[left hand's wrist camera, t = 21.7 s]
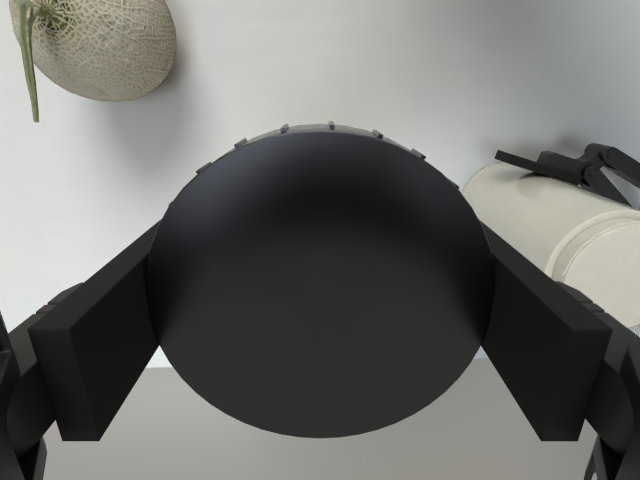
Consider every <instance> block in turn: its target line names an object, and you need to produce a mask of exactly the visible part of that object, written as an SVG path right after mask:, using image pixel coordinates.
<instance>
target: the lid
mask: <svg viewBox="0 0 640 480" xmlns="http://www.w3.org/2000/svg"><path fill="white" fill-rule="evenodd" d="M234 146H235V148H233V149H232V150H230V151H229V152H227V153H226V154H224V155H223V156H221V157H220V158H219V159H217V160H216V161H214V162H213V163H211V162H209V163H207V164H206V165H204V166H203V167H201V168H200V169H198V170H197V171H196V173H197V175H196V176H195V177H194V178H193V179H192V180H191V181H190V182H189V183H188V184H187V185H186V186H185V187H184V188H183V189H182V190H181V191H180V193H179V194H178V195H177V197H176V198H175V199H174V201H172V202H171V203H170V204H169V207H168V209H167V211H166V213H165V214H164V216H163V218H162V220H161V222H160V223H159V225H158V228H157V230H156V233H155V236H154V239H153V241H152V244H151V247H150V252H149V257H148V262H147V267H146V287H145V288H146V297H147V303H148V309H149V314H150V319H151V324H152V328H153V330H154V332H155V335H156V337H157V340H158V342H159V345H160V347H161V348H162V350H163V352H164V354H165V355H166V357H167V359H168V360H169V362H170V364H171V365H172V366H173V367H174V369H175V370H176V371H177V373H178V374H179V375H180V377H181V378H182V379H183V380H184V381H185V382H186V383H187V384H188V385H189V386H190V387H191V388H192V389H193V390H194V391H195V392H196V393H197V394H199V395H200V396H201V397H202V398H203V399H205V400H206V401H207V402H208V403H210V404H211V405H213V406H214V407H216V408H217V409H219V410H221V411H222V412H224V413H225V414H227V415H229V416H231V417H233V418H235V419H237V420H239V421H241V422H243V423H246V424H249V425H251V426H254V427H257V428H259V429H262V430H266V431H270V432H274V433H278V434H282V435H289V436H295V437H306V438H335V437H345V436H352V435H359V434H363V433H366V432H371V431H375V430H378V429H381V428H384V427H386V426H389V425H392V424H395V423H397V422H399V421H401V420H403V419H405V418H407V417H409V416H412V415H413V414H415V413H417V412H418V411H420V410H421V409H423V408H424V407H426V406H428V405H429V404H431V403H432V402H433V401H434V400H436V399H437V398H438V397H440V396H441V395H442V394H443V393H444V392H446V391H447V390H448V389H449V388H450V387H451V386H452V385H453V384H454V382H455V381H456V380H458V378H459V377H460V376H461V375H462V373H463V372H464V371H465V369H466V368H467V367H468V366H469V364H470V363H471V361H472V359H473V358H474V356H475V354H476V353H477V351H478V349H479V348H480V346H481V343H482V341H483V338H484V336H485V334H486V331H487V329H488V325H489V321H490V316H491V311H492V305H493V299H494V293H495V278H494V265H493V260H492V255H491V250H490V246H489V243H488V240H487V237H486V235H485V232H484V229H483V227H482V225H481V223H480V221H479V219H478V217H477V216H476V214H475V212H474V210H473V208H472V207H471V205H470V204H469V203H468V201H467V200H466V199H465V197H464V196H463V195H462V194H461V192H460V191H459V190H458V189H459V187H458V185H456V184H455V183H454V182H452V181H451V180H449V179H448V178H446V177H445V176H444V175H443V174H442V173H441V172H440V171H438V170H437V169H436V168H434V167H433V166H432V165H430V164H429V163H427V162H426V161H425V160H424V159H425V158H426V156H424V155H423V154H421V153H419V152H418V151H416V150H415V149H412V150H411V151H410V150H409V149H407V148H405V147H404V146H402V145H400V144H398V143H396V142H394V141H392V140H390V139H388V138H386V137H383V135H382V134H381V133H380V132H378V131H377V130H373V132H369V131H366V130H362V129H357V128H352V127H348V126H341V125H334V122H333V121H329V125H327V124H314V125H298V126H293V127H289V126H288V124H285V125H283V126H282V127H281V128H280V129H278V130H274V131H271V132H268V133H266V134H263V135H260V136H257V137H254V138H252V139H250V140H248V141H247V139H246V138H245V139H243V140H241V141H239V142H238V143H236V144H235V145H234Z"/></svg>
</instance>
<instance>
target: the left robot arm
mask: <svg viewBox="0 0 640 480" xmlns="http://www.w3.org/2000/svg"><path fill="white" fill-rule="evenodd" d="M161 220H162V219H161ZM161 220H160V221H159V222H157V223H156V224H155V225H154V226H152V227H151V228H150V229H149V230H148V231H146V232H145V233H144V234H143V235H142V236H140V237H139V238H138V239H137V240H135V241H134V242H133V243H132V244H131V245H129V246H128V247H127V248H126V249H124V250H123V251H122V252H121V253H120V254H118V255H117V256H116V257H115V258H114V259H112V260H111V261H110V262H109V263H107V264H106V265H105V266H104V267H103V268H101V269H100V270H99V271H98V272H96V273H95V274H94V275H93V276H92V277H90V278H89V279H88V280H87V281H85V282H84V283H79V284H77V285H75V286H73V287H71V288H69V289H67V290H64V291H62V292H61V293H59V294H58V295H57V296H56V297H54V298H53V299H52V300H51V301H49V302H48V305H44V306H43V307H42V308H40V309H39V310H38V311H37V312H36V314H33V315H31V316H30V317H29V318H28V319H26V320H25V321H24V322H23V323H21V324H20V325H19V326H17V327H16V328H15V329H14V330H12V331H11V332H10V333H9V334H8V332H7V330H6V327H5V324H4V321H3V318H2V315H1V312H0V480H43V475H44V469H45V462H46V456H47V450H46V444H45V441H44V438H43V435H44V433H45V432H46V431H47V430H48V428H49V427H50V426H51V425H52V423H53V422H54V421H55V420H56V422H57V425H58V428H59V431H60V435H61V438H62V441H99V440H100V439H101V437H102V436H103V434H104V432H105V431H106V429H107V428H108V426H109V424H110V423H111V421H112V420H113V418H114V417H115V415H116V413H117V412H118V410H119V409H120V407H121V405H122V404H123V402H124V401H125V399H126V397H127V396H128V394H129V393H130V391H131V389H132V388H133V386H134V385H135V383H136V381H137V380H138V378H139V377H140V375H141V373H142V372H143V370H144V369H145V367H146V366H147V364H148V362H149V361H150V359H151V358H152V356H153V354H154V353H155V351H156V350H157V348H158V346H159V342H158V340H157V337H156V335H155V332H154V330H153V328H152V324H151V319H150V314H149V309H148V303H147V297H146V288H145V287H146V267H147V262H148V257H149V252H150V247H151V244H152V241H153V239H154V236H155V233H156V230H157V228H158V225H159V223H160V222H161ZM479 221H480V220H479ZM480 223H481V225H482V227H483V229H484V232H485V235H486V237H487V240H488V243H489V246H490V250H491V255H492V260H493V265H494V278H495V293H494V299H493V305H492V311H491V316H490V321H489V325H488V329H487V331H486V334H485V336H484V338H483V341H482V343H481V346H482V348H483V349H484V351H485V352H486V354H487V356H488V357H489V359H490V360H491V362H492V364H493V365H494V367H495V368H496V370H497V371H498V373H499V375H500V376H501V378H502V379H503V381H504V383H505V384H506V386H507V387H508V389H509V391H510V392H511V394H512V395H513V397H514V399H515V400H516V402H517V403H518V405H519V407H520V408H521V410H522V411H523V413H524V415H525V416H526V418H527V419H528V421H529V422H530V424H531V426H532V427H533V429H534V430H535V432H536V434H537V435H538V437H539V438H540V440H541V441H578V439H579V436H580V432H581V429H582V426H583V423H584V420H585V418H586V420H587V421H588V422H589V423H590V425H591V426H592V427H593V428H594V430H595V431H596V432H597V433H598V436H597V438H596V441H595V444H594V447H593V450H592V453H591V456H590V459H589V462H588V465H587V468H586V471H585V476H584V480H591V479H592V476H593V474H594V473H596V474H597V480H640V337H638V336H637V335H636V334H634V333H633V332H632V331H631V330H629V329H628V328H627V327H625V326H624V325H623V324H622V323H620V322H619V321H618V320H616V319H615V318H614V317H613V316H611V315H610V314H609V313H605V310H604V309H602V308H601V307H600V306H598V305H597V304H596V303H593V301H592V300H591V299H589V298H588V297H587V296H586V295H584V294H583V293H582V292H580V291H579V290H577V289H575V288H573V287H571V286H569V285H566V284H564V283H562V282H560V281H554V280H552V279H551V278H550V277H549V276H547V275H546V274H545V273H544V272H543V271H541V270H540V269H539V268H538V267H537V266H535V265H534V264H533V263H532V262H530V261H529V260H528V259H527V258H526V257H524V256H523V255H522V254H521V253H519V252H518V251H517V250H516V249H515V248H513V247H512V246H511V245H510V244H508V243H507V242H506V241H505V240H504V239H502V238H501V237H500V236H499V235H498V234H496V233H495V232H494V231H493V230H491V229H490V228H489V227H488V226H487V225H485V224H484V223H483V222H482V221H480Z"/></svg>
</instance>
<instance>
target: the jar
mask: <svg viewBox="0 0 640 480" xmlns="http://www.w3.org/2000/svg"><path fill="white" fill-rule="evenodd" d="M461 194H462V195H463V196H464V197H465V199H466V200H467V201H468V203H469V204H470V205H471V207H472V208H473V210H474V212H475V214H476V216H477V217H478V219H479V220H480V221H482V222H483V223H484V224H485V225H487V226H488V227H489V228H490V229H491V230H493V231H494V232H495V233H496V234H498V235H499V236H500V237H501V238H502V239H504V240H505V241H506V242H507V243H508V244H510V245H511V246H512V247H513V248H515V249H516V250H517V251H518V252H519V253H521V254H522V255H523V256H524V257H526V258H527V259H528V260H529V261H530V262H532V263H533V264H534V265H535V266H537V267H538V268H539V269H540V270H541V271H543V272H544V273H545V274H546V275H547V276H549V277H550V278H551V279H552V280H554V281H560V282H562V283H564V284H566V285H569V286H571V287H573V288H575V289H577V290H579V291H580V292H582V293H583V294H584V295H586V296H587V297H588V298H589V299H591V300H592V301H593V303H596V304H597V305H598V306H600V307H601V308H602V309H604V310H605V313H609V314H610V315H611V316H613V317H614V318H615V319H616V320H618V321H619V322H620V323H622V324H623V325H624V326H625V327H627V328H631V327H634V326H637V325H639V324H640V210H638V209H635V208H633V207H630V206H627V205H625V204H622V203H619V202H617V201H614V200H612V199H609V198H606V197H604V196H601V195H598V194H596V193H593V192H590V191H588V190H585V189H583V188H580V187H577V186H575V185H572V184H569V183H567V182H564V181H562V180H558V179H555V178H552V177H549V176H546V175H543V174H539V173H536V172H533V171H530V170H527V169H524V168H520V167H517V166H514V165H511V164H508V163H505V162H501V163H495V164H492V165H489V166H487V167H485V168H483V169H481V170H480V171H478V172H477V173H476V174H475V175H474V176H473V177H472V178H471V179H470V180H469V181H468V182H467V184H466V185H465V187H464V189H463V191H462V193H461Z"/></svg>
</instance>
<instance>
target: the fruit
mask: <svg viewBox="0 0 640 480" xmlns="http://www.w3.org/2000/svg"><path fill="white" fill-rule="evenodd" d="M9 6H10V13H11V18H12V24H13V29H14V33H15V36H16V38H17V40H18V42H19V45H20V47H21V51H22V58H23V64H24V70H25V76H26V81H27V85H28V90H29V94H30V98H31V103H32V112H33V120H34V122H39V111H38V101H37V91H36V81H35V73H34V66H33V63H34V64H35V65H36V67H37V68H38V69H39V70H40V71H41V72H42V73H43V74H44V75H46V76H47V77H48V78H49V79H50V80H51V81H53V82H54V83H55V84H57V85H59V86H60V87H62V88H63V89H65V90H67V91H69V92H71V93H74V94H77V95H79V96H82V97H86V98H90V99H93V100H99V101H108V102H120V101H126V100H132V99H136V98H139V97H142V96H144V95H145V94H147V93H149V92H151V91H152V90H154V89H155V88H156V87H158V86H159V85H160V84H161V83H162V81H163V80H164V79H165V77H166V76H167V75H168V73H169V71H170V69H171V67H172V64H173V61H174V58H175V53H176V33H175V27H174V23H173V20H172V17H171V14H170V11H169V9H168V6H167V4H166V3H165V1H164V0H9Z"/></svg>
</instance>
